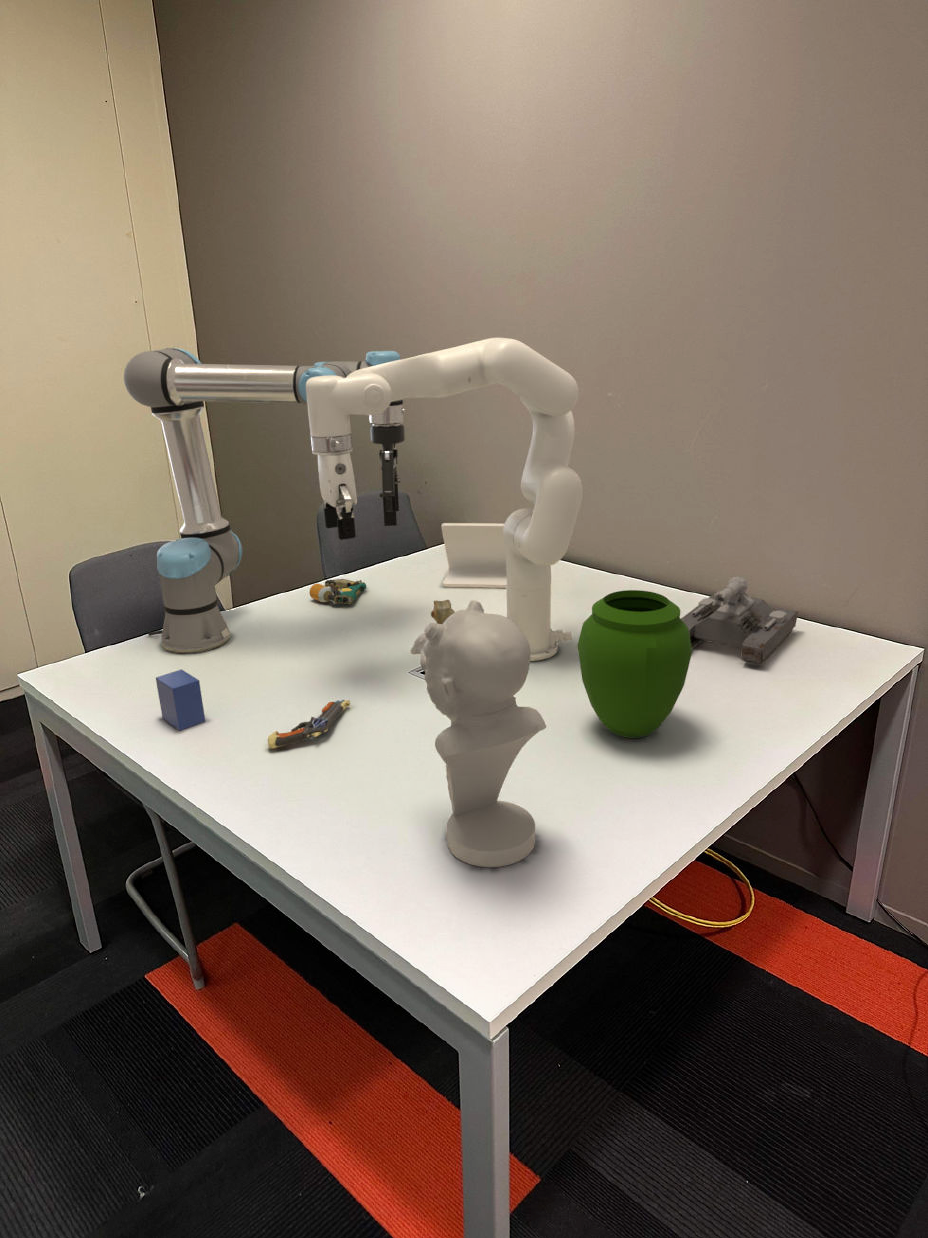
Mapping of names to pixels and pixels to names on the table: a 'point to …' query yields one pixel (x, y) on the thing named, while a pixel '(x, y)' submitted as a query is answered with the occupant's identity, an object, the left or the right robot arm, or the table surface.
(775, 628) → the toy
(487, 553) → the tablet stand
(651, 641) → the vase
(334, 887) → the table surface
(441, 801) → the table surface
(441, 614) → the sculpture
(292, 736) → the toy gun
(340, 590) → the spray gun
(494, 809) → the bust sculpture
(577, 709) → the table surface
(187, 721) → the block
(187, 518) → the left robot arm
